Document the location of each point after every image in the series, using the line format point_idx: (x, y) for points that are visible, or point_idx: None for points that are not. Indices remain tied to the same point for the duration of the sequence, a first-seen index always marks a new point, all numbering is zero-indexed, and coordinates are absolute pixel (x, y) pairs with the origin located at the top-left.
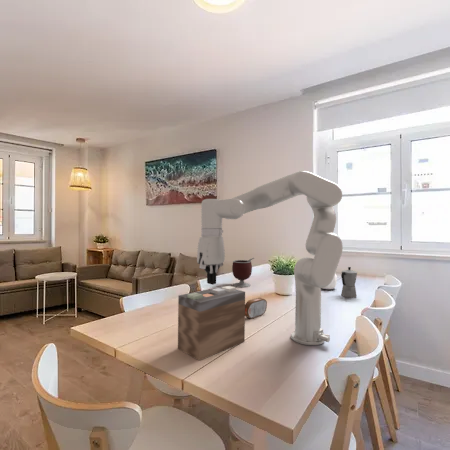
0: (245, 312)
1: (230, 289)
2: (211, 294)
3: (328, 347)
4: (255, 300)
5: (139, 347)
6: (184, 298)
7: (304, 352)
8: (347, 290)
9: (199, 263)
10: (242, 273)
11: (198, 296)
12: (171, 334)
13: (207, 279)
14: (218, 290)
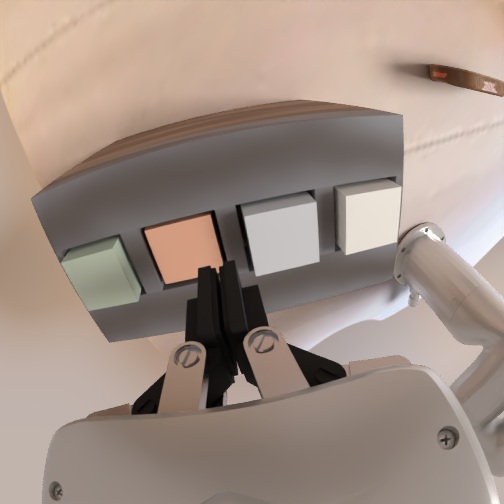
0: (434, 72)
1: (356, 248)
2: (218, 248)
3: (405, 293)
4: (484, 87)
5: (36, 95)
6: (55, 247)
7: (363, 292)
8: None
9: (82, 425)
10: None
11: (112, 303)
12: (142, 30)
13: (187, 311)
14: (270, 260)
